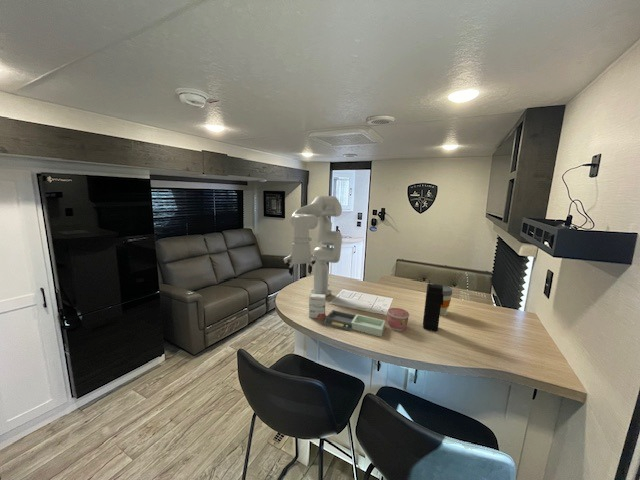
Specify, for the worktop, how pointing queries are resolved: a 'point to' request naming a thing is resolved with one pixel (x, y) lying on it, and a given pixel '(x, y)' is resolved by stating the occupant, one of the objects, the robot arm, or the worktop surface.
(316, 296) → the ink box
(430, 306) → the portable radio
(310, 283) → the worktop surface
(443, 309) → the reusable coffee cup
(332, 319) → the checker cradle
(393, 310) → the container
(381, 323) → the trough
